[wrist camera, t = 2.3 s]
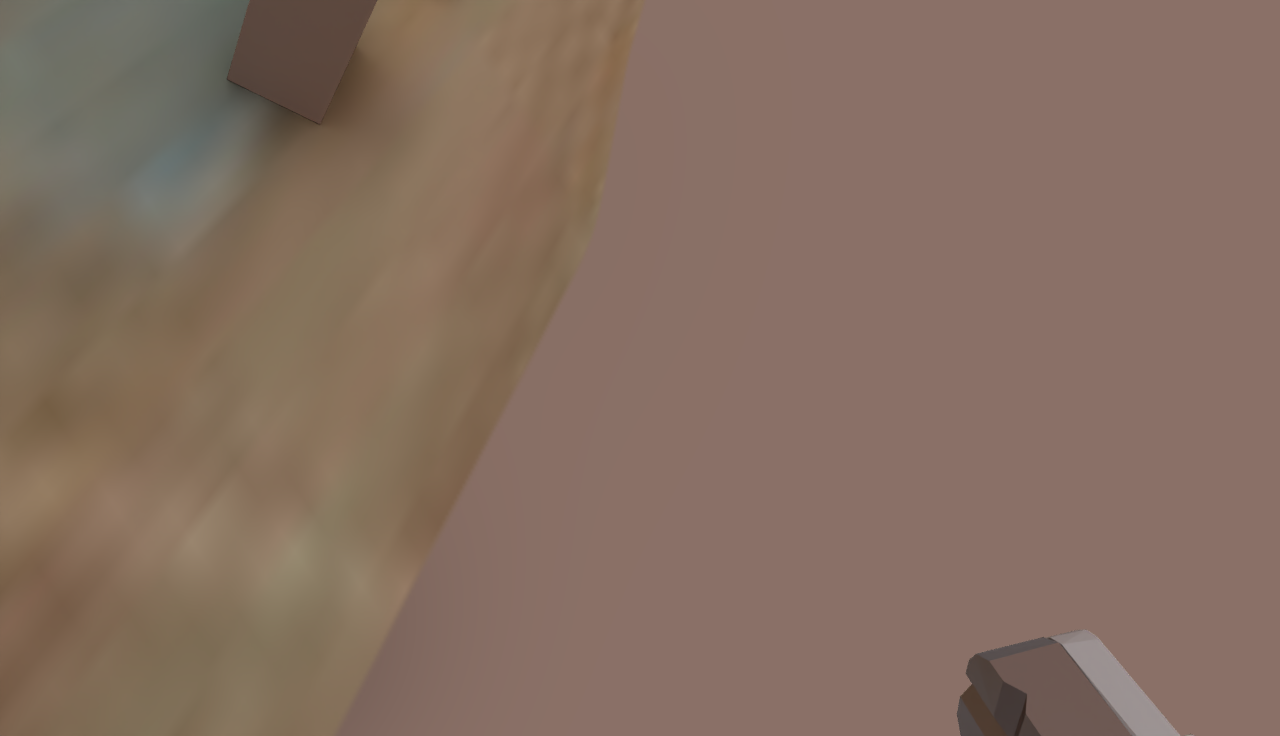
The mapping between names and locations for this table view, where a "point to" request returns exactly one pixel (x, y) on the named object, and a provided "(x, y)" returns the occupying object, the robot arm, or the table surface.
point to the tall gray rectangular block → (298, 50)
